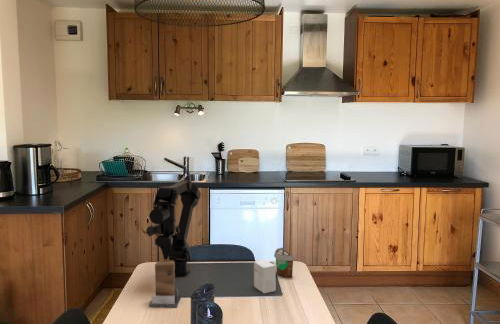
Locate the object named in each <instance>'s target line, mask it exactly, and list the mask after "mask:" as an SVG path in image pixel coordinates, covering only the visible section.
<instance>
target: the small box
mask: <svg viewBox="0 0 500 324" xmlns="http://www.w3.org/2000/svg"><path fill="white" fill-rule="evenodd" d="M276 275H277V271H276V264H274V263H272V262H270V261H268V260H267V259H262V260H257V261H254V262H253V286H254V288H255V289H257V290H259V291H260V292H261V293H262V294H268V293H273V292H275V291H276V290H277V289H276V288H277V287H276V286H277V285H276V283H277V282H276V281H277V280H276V279H277V277H276Z"/></svg>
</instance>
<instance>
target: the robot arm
mask: <svg viewBox="0 0 500 324" xmlns="http://www.w3.org/2000/svg"><path fill="white" fill-rule="evenodd" d="M179 197H180V201H181V203H182V204H181V205H182V208H181V213H180V217H179V221H178V222H179V223H178V225H176V222H177V219H176V205H177V200H178V199H179ZM200 199H201V191H200V189H199V188H198V186H196V185H194V184H193V182H192V181H191V180H190V179H189V180H188V179H187V180H183V179H182V180H179V181H178V182H176V183H174V184H172V185H170V186H160V187H159V188H158V189H157V192H156V194H155V198H154V201H153V209H152V210H151V211H150V212H149V214H148V217H149V221H150V222H151V223H152V224H153V225H150V226H147V227H146V229H145V234H147V236H148V237H152V236H154V235H157V234H158V236H157V237H156V238H155V239H154V245H155V246H157V247H158V248H160V250H161V253H162V256H163V260H169V261H173V262H175V276H180V277H186V275H187V274H189V273H190V272H191V270H190V269H188V262H191V261H192V255H193V254H192V252H191V250H190V249H189V246H190V245H189V242H188V239H187V238H188V234H189V230H190V224H191V220H192V215H193V210H194V208H195V207H196V206H197V205H198V204H199V201H200Z"/></svg>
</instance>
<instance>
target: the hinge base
mask: <svg viewBox="0 0 500 324" xmlns="http://www.w3.org/2000/svg"><path fill="white" fill-rule="evenodd" d="M181 298H182V295H179V288H177V287H175V295H156V294H152V295H151V301H150V302H149V304H148V308H168V309H169V308H170V309H172V308H174V309H175V308H176V309H177V308H178V306H179V303H180V301H181Z"/></svg>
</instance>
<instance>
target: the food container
mask: <svg viewBox="0 0 500 324" xmlns="http://www.w3.org/2000/svg"><path fill="white" fill-rule="evenodd" d="M273 256H274V258H275V265H276V275H277V276H279V277H280V278H293V269H294V267H293V266H294V260H295V257H294V255H291V254H290V253H289V252H288V251H286V250H285V249H284V247H279V248H277V249H276V250H275V251H274V254H273Z"/></svg>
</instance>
